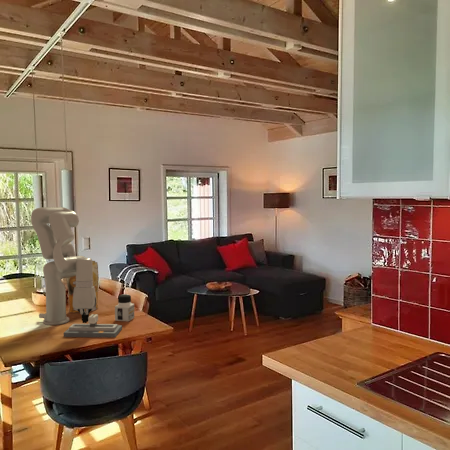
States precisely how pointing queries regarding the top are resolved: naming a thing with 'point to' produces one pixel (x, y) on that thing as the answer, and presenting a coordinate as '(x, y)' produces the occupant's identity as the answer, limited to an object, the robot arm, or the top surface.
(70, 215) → the robot arm
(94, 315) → the fader
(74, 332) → the console
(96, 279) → the pancake mix bag
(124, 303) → the container
